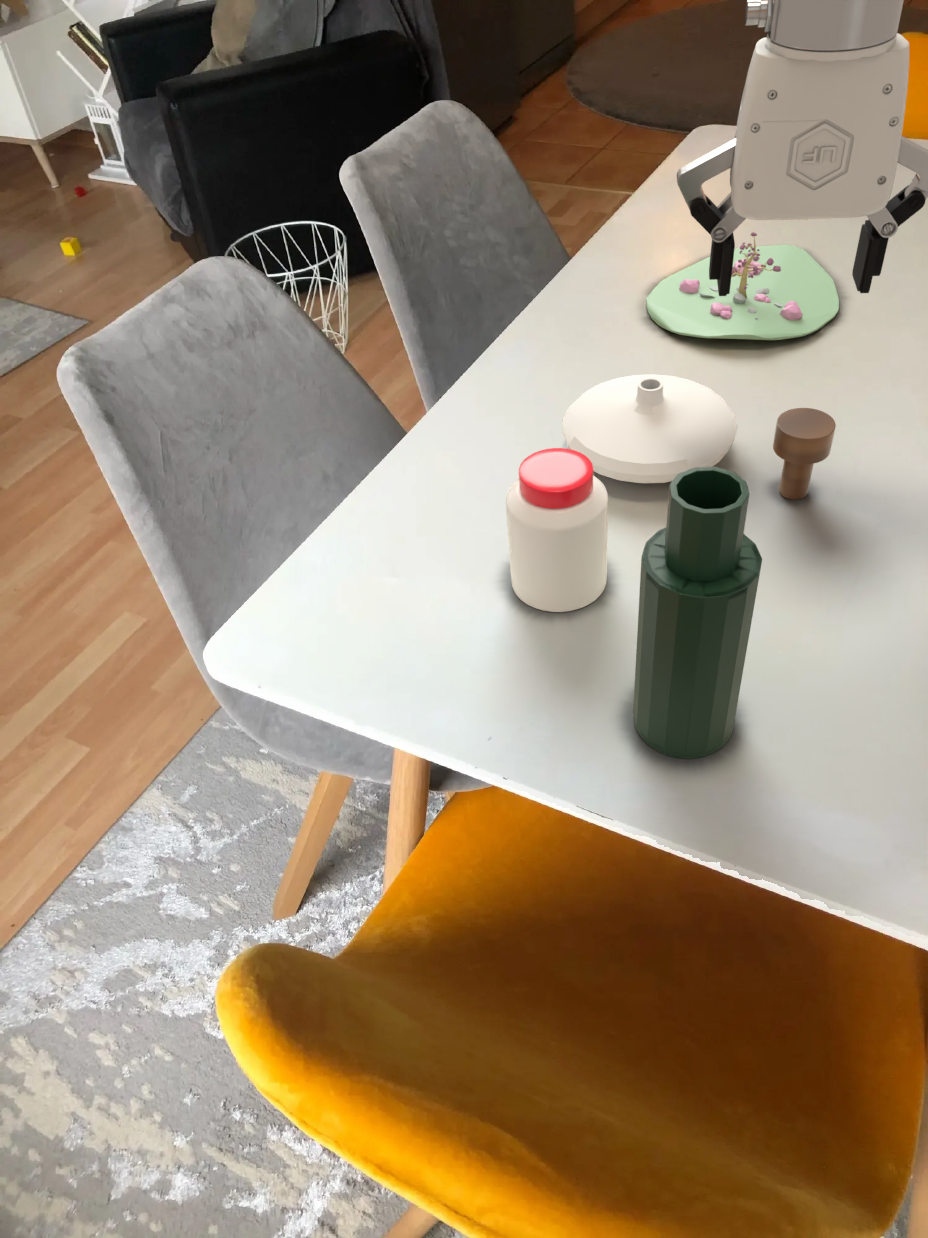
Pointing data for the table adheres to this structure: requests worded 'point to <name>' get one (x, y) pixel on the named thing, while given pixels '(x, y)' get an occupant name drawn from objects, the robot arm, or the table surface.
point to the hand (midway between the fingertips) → (790, 285)
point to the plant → (748, 297)
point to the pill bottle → (557, 531)
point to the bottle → (695, 615)
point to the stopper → (801, 447)
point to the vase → (649, 427)
